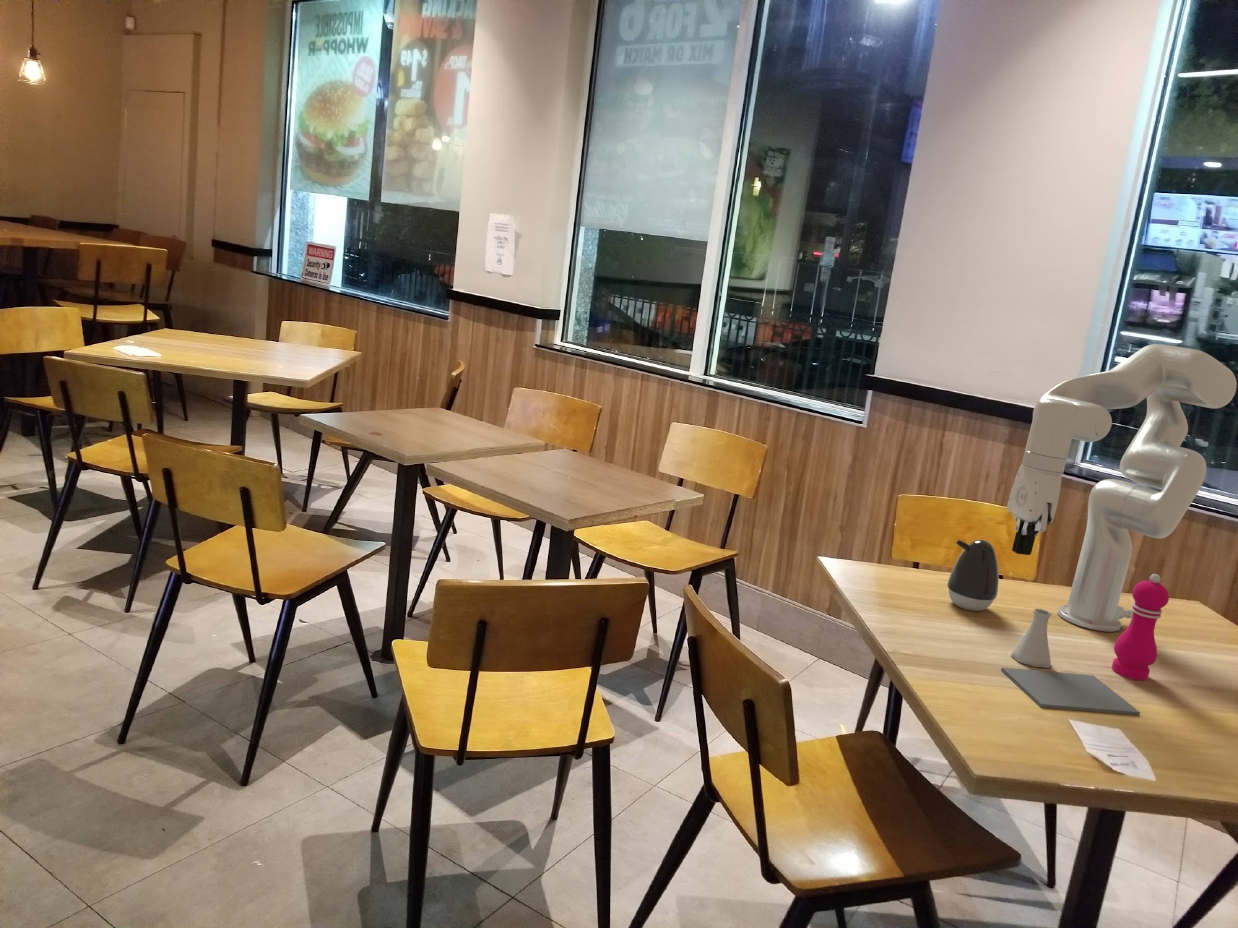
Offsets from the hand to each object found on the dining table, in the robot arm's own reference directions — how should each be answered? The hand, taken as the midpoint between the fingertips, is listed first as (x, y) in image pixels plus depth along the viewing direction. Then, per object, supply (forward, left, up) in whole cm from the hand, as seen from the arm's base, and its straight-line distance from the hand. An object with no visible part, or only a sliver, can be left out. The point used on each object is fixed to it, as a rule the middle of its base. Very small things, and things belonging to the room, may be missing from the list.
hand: (1021, 552), depth 188 cm
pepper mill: (-19, +13, -18) cm, 29 cm away
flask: (0, +11, -18) cm, 21 cm away
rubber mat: (0, +24, -18) cm, 30 cm away
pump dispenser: (0, -16, -18) cm, 24 cm away
